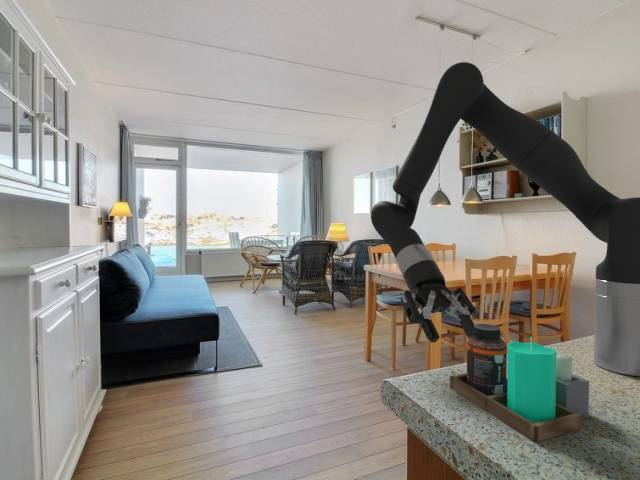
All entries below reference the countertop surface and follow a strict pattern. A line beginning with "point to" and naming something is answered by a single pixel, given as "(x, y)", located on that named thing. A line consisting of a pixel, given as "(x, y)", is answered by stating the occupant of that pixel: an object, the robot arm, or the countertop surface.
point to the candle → (531, 381)
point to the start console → (573, 395)
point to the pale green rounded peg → (563, 368)
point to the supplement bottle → (487, 360)
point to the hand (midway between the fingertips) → (455, 338)
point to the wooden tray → (497, 407)
